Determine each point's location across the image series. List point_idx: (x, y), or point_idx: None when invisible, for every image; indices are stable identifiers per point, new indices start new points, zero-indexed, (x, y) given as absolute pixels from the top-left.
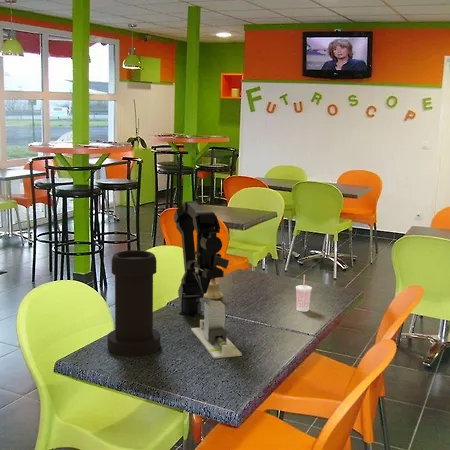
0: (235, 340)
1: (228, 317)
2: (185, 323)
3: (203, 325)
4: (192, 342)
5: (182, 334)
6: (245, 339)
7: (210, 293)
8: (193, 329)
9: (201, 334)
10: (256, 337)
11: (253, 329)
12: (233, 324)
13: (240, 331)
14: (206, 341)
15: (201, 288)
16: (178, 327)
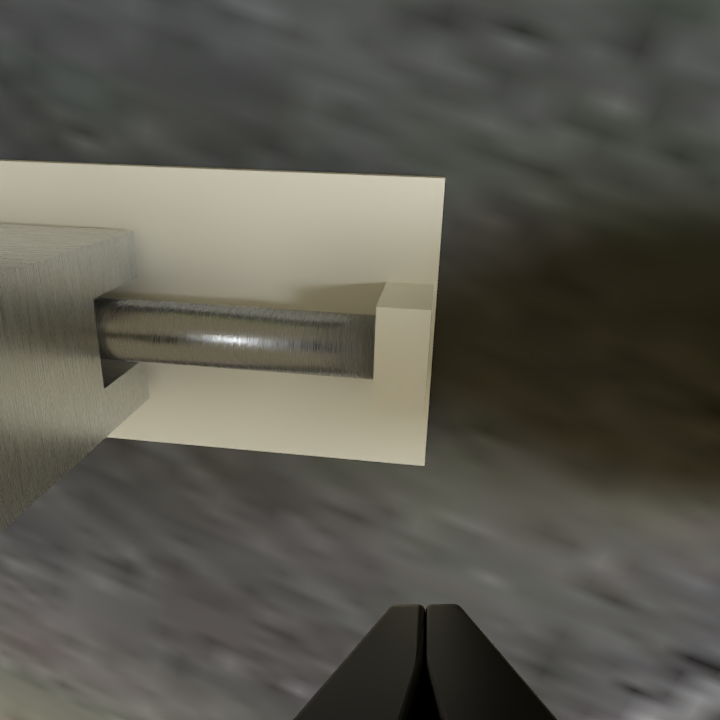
0: (62, 483)
1: (674, 670)
2: (703, 177)
3: (346, 313)
4: (56, 62)
5: (326, 15)
6: (75, 562)
7: None
8: (393, 189)
9: (210, 226)
10: (107, 649)
11: (287, 707)
12: None
13: (266, 605)
14: (3, 208)
15: (408, 683)
16: (593, 34)
